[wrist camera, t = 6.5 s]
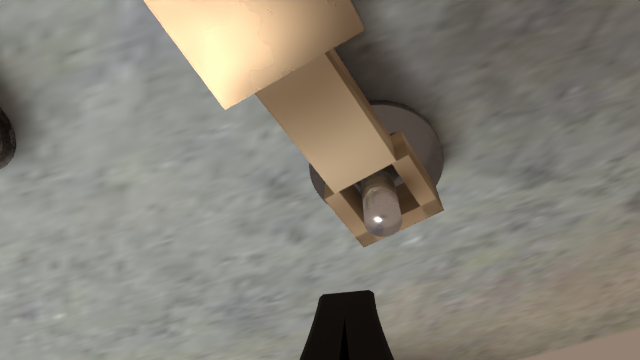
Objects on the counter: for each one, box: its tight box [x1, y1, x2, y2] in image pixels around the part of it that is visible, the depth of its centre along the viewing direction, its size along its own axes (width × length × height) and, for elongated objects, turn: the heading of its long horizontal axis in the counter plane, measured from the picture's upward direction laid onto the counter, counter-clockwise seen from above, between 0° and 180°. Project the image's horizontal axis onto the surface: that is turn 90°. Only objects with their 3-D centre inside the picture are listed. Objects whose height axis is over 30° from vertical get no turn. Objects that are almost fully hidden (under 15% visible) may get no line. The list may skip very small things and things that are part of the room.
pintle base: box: [309, 100, 443, 237], centre depth 17 cm, size 6×6×4 cm
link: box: [255, 48, 444, 247], centre depth 16 cm, size 11×4×2 cm, turn 34°
